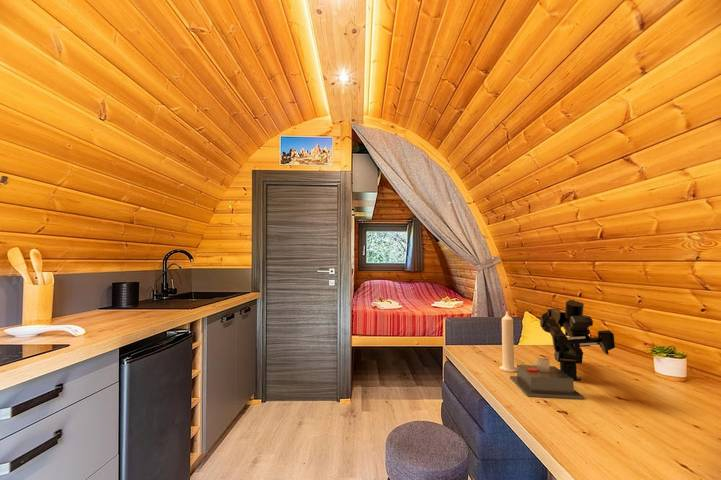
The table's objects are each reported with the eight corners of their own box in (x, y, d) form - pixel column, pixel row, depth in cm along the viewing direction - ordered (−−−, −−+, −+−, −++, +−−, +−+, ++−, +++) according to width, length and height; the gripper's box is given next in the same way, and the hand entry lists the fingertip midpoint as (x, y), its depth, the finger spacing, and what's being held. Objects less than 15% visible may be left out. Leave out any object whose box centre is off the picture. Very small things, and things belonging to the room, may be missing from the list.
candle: (514, 367, 147) (512, 309, 149) (520, 372, 140) (518, 312, 142) (497, 366, 148) (496, 309, 149) (502, 371, 141) (501, 311, 142)
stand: (510, 378, 133) (509, 361, 133) (558, 380, 131) (557, 363, 131) (527, 396, 115) (527, 376, 115) (583, 399, 113) (582, 379, 113)
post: (537, 382, 125) (536, 357, 125) (546, 382, 124) (545, 357, 125) (540, 385, 121) (540, 360, 122) (550, 385, 121) (549, 360, 122)
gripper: (545, 314, 127) (557, 334, 113) (602, 309, 122) (622, 329, 107) (549, 340, 129) (561, 363, 115) (604, 336, 124) (625, 360, 109)
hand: (591, 354), depth 111 cm, fingers open, 9 cm apart
